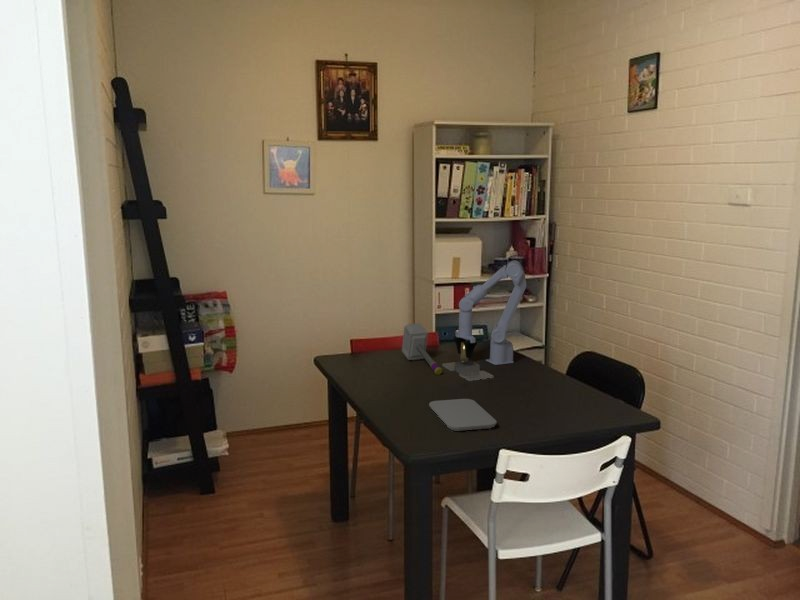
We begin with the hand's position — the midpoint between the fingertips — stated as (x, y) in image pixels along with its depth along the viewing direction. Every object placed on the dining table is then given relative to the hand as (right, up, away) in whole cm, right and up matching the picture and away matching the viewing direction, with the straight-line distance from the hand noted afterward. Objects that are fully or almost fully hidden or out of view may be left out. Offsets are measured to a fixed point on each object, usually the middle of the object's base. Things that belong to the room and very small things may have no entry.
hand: (464, 355), depth 297 cm
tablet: (-8, -15, -70) cm, 72 cm away
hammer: (-18, -4, -8) cm, 20 cm away
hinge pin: (0, -2, 0) cm, 2 cm away
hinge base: (-1, -5, -17) cm, 18 cm away
